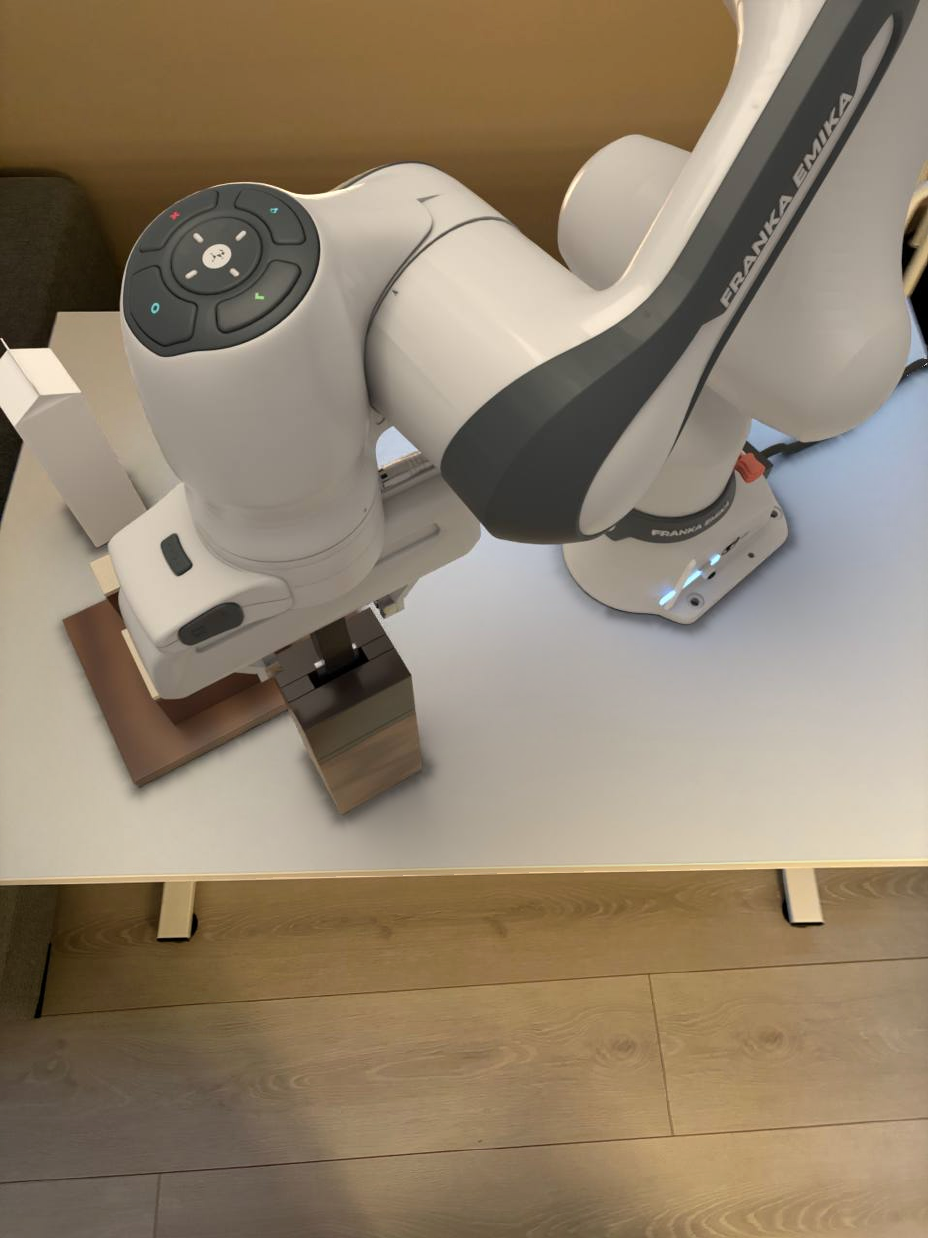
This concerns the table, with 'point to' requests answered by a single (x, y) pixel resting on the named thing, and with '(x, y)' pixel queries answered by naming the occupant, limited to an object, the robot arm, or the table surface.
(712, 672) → the table surface
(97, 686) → the board
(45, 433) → the milk
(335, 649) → the knife
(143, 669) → the cake
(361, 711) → the knife block
